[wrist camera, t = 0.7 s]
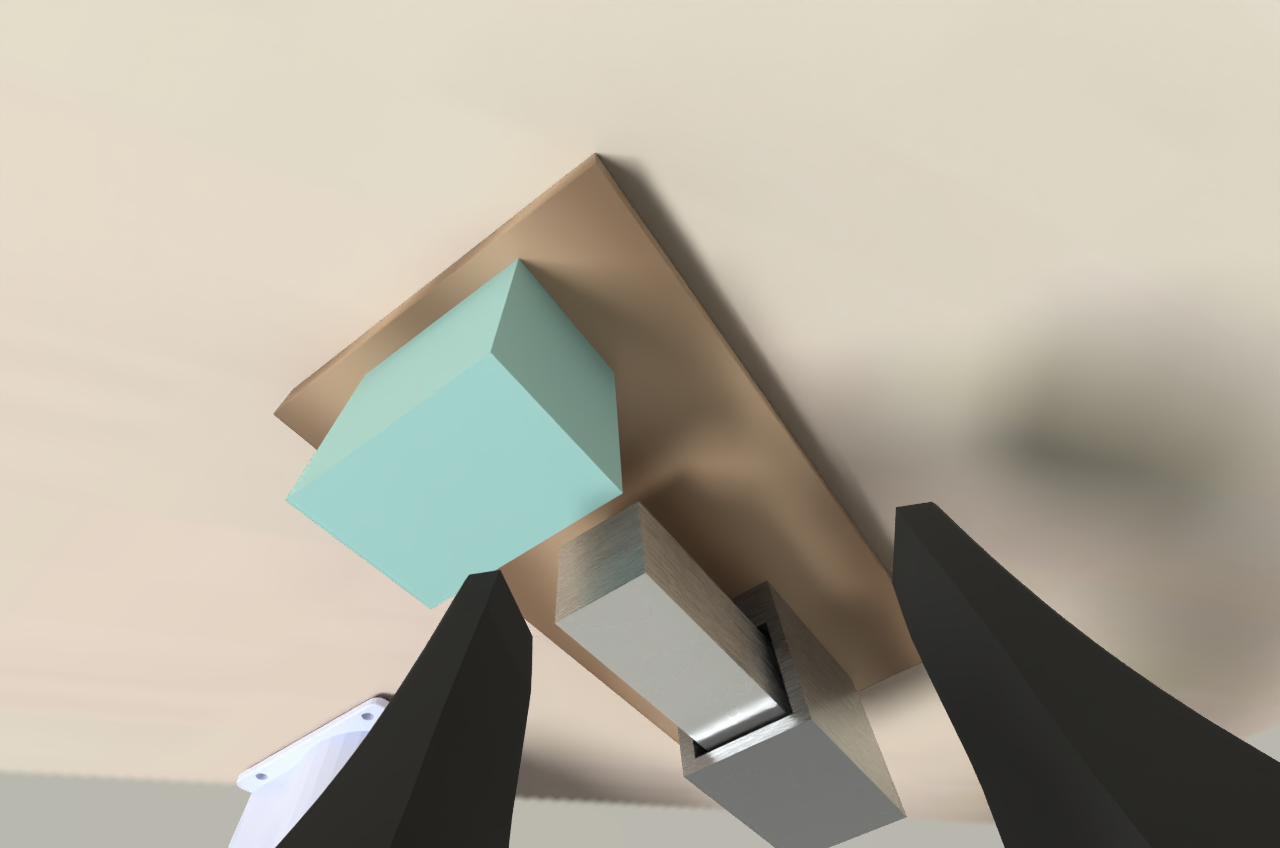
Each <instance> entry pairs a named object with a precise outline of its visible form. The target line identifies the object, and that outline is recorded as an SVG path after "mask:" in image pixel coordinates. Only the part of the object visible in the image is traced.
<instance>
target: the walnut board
mask: <svg viewBox="0 0 1280 848" xmlns="http://www.w3.org/2000/svg"><path fill="white" fill-rule="evenodd" d="M518 258H519V259H520V260H521V261H522V263H523V264H524V265H525V266H526V267H527V269H528V270H529V271H530V272H531V273H532V275H533V276H534V277H535V278H536V279H537V281H538V282H539V283H540V284H541V285H542V287H543V288H544V289H545V290H546V291H547V293H548V294H549V295H550V296H551V297H552V299H553V300H554V301H555V302H556V303H557V305H558V306H559V307H560V308H561V309H562V311H563V312H564V313H565V314H566V315H567V317H568V318H569V319H570V320H571V321H572V323H573V324H574V325H575V326H576V327H577V329H578V330H579V331H580V332H581V333H582V335H583V336H584V337H585V338H586V339H587V341H588V342H589V343H590V344H591V345H592V347H593V348H594V349H595V350H596V351H597V353H598V354H599V355H600V356H601V357H602V359H603V360H604V361H605V362H606V363H607V365H608V366H609V367H610V368H611V369H612V371H613V372H614V376H615V390H616V404H617V419H618V433H619V447H620V461H621V475H622V490H623V493H622V494H621V495H619V496H617V497H616V498H614V499H612V500H611V501H609V502H607V503H606V504H604V505H602V506H601V507H599V508H597V509H596V510H594V511H592V512H591V513H589V514H588V515H586V516H584V517H583V518H581V519H579V520H578V521H576V522H574V523H573V524H571V525H569V526H568V527H566V528H564V529H563V530H561V531H559V532H558V533H556V534H554V535H553V536H551V537H549V538H548V539H546V540H545V541H543V542H541V543H540V544H538V545H536V546H535V547H533V548H531V549H530V550H528V551H526V552H525V553H523V554H521V555H520V556H518V557H516V558H515V559H513V560H511V561H510V562H508V563H507V564H505V565H503V566H502V567H500V568H498V569H497V570H501V572H502V574H503V576H504V578H505V580H506V582H507V584H508V587H509V589H510V591H511V593H512V595H513V597H514V599H515V601H516V603H517V605H518V607H519V610H520V612H521V614H522V616H523V618H524V619H526V620H527V621H528V622H529V623H531V624H532V625H533V626H534V627H535V628H537V629H538V630H539V631H540V632H542V633H543V634H544V635H545V636H547V637H548V638H549V639H550V640H551V641H553V642H554V643H555V644H556V645H558V646H559V647H560V648H561V649H563V650H564V651H565V652H566V653H567V654H569V655H570V656H571V657H572V658H574V659H575V660H576V661H577V662H578V663H580V664H581V665H582V666H583V667H585V668H586V669H587V670H588V671H590V672H591V673H592V674H593V675H594V676H596V677H597V678H598V679H599V680H601V681H602V682H603V683H604V684H606V685H607V686H608V687H609V688H610V689H612V690H613V691H614V692H615V693H617V694H618V695H619V696H620V697H622V698H623V699H624V700H625V701H626V702H628V703H629V704H630V705H631V706H633V707H634V708H635V709H636V710H637V711H639V712H640V713H641V714H642V715H644V716H645V717H646V718H647V719H649V720H650V721H651V722H652V723H653V724H655V725H656V726H657V727H658V728H660V729H661V730H662V731H663V732H665V733H666V734H667V735H668V736H669V737H671V738H672V739H673V740H674V741H676V742H677V743H678V744H679V745H680V742H679V734H678V726H677V725H676V724H675V723H673V722H672V721H671V720H670V719H669V718H667V717H666V716H665V715H664V714H663V713H661V712H660V711H659V710H658V709H657V708H655V707H654V706H653V705H652V704H651V703H649V702H648V701H647V700H646V699H645V698H643V697H642V696H641V695H640V694H639V693H638V692H636V691H635V690H634V689H633V688H632V687H630V686H629V685H628V684H627V683H626V682H624V681H623V680H622V679H621V678H620V677H618V676H617V675H616V674H615V673H614V672H612V671H611V670H610V669H609V668H608V667H606V666H605V665H604V664H603V663H602V662H600V661H599V660H598V659H597V658H596V657H594V656H593V655H592V654H591V653H590V652H588V651H587V650H586V649H585V648H584V647H582V646H581V645H580V644H579V643H578V642H576V641H575V640H574V639H573V638H572V637H571V636H569V635H568V634H567V633H566V632H565V631H563V630H562V629H561V628H560V627H559V626H557V625H556V624H555V616H556V598H557V581H558V563H559V547H561V546H562V545H564V544H566V543H568V542H569V541H571V540H573V539H574V538H576V537H578V536H579V535H581V534H583V533H584V532H586V531H588V530H589V529H591V528H593V527H594V526H596V525H598V524H599V523H601V522H603V521H604V520H606V519H608V518H609V517H611V516H613V515H614V514H616V513H618V512H619V511H621V510H623V509H624V508H626V507H628V506H629V505H631V504H633V503H635V502H636V501H639V502H640V503H641V504H642V505H643V506H644V507H645V508H646V509H647V510H648V511H649V512H650V513H651V515H652V516H653V517H654V518H655V519H656V520H657V521H658V522H659V523H660V524H661V525H662V526H663V527H664V529H665V530H666V531H667V532H668V533H669V534H670V535H671V536H672V537H673V538H674V539H675V540H676V541H677V543H678V544H679V545H680V546H681V547H682V548H683V549H684V550H685V551H686V552H687V553H688V554H689V555H690V557H691V558H692V559H693V560H694V561H695V562H696V563H697V564H698V565H699V566H700V567H701V568H702V569H703V571H704V572H705V573H706V574H707V575H708V576H709V577H710V578H711V579H712V580H713V581H714V582H715V583H716V585H717V586H718V587H719V588H720V589H721V590H722V591H723V592H724V593H725V594H726V595H727V596H728V597H729V599H730V600H731V599H733V598H734V597H736V596H738V595H740V594H742V593H744V592H746V591H748V590H750V589H752V588H754V587H755V586H757V585H759V584H761V583H763V582H765V581H768V582H769V583H770V584H771V585H772V586H773V588H774V589H775V590H776V591H777V592H778V593H779V595H780V596H781V597H782V598H783V599H784V600H785V602H786V603H787V604H788V605H789V606H790V607H791V609H792V610H793V611H794V612H795V613H796V614H797V616H798V617H799V618H800V619H801V620H802V621H803V623H804V624H805V625H806V626H807V627H808V628H809V630H810V631H811V632H812V633H813V634H814V635H815V637H816V638H817V639H818V640H819V641H820V642H821V643H822V645H823V646H824V647H825V648H826V649H827V650H828V652H829V653H830V654H831V655H832V656H833V657H834V659H835V660H836V661H837V662H838V663H839V664H840V666H841V667H842V668H843V669H844V670H845V671H846V673H847V674H848V675H849V676H850V677H851V678H852V681H853V683H854V686H855V688H856V691H857V692H858V691H860V690H862V689H864V688H866V687H869V686H871V685H873V684H875V683H877V682H880V681H882V680H884V679H886V678H888V677H891V676H893V675H895V674H897V673H899V672H902V671H904V670H906V669H908V668H910V667H913V666H915V665H917V664H919V663H921V662H922V660H921V658H920V656H919V654H918V652H917V650H916V647H915V645H914V643H913V641H912V639H911V636H910V634H909V631H908V628H907V625H906V622H905V620H904V617H903V614H902V611H901V608H900V605H899V602H898V599H897V596H896V593H895V590H894V588H893V585H892V580H893V579H892V578H891V576H890V575H889V573H888V572H887V570H886V569H885V568H884V566H883V565H882V563H881V562H880V560H879V559H878V557H877V556H876V555H875V553H874V552H873V550H872V549H871V547H870V546H869V545H868V543H867V542H866V540H865V539H864V537H863V536H862V535H861V533H860V532H859V530H858V529H857V527H856V526H855V525H854V523H853V522H852V520H851V519H850V517H849V516H848V514H847V513H846V512H845V510H844V509H843V507H842V506H841V504H840V503H839V502H838V500H837V499H836V497H835V496H834V494H833V493H832V492H831V490H830V489H829V487H828V486H827V484H826V483H825V482H824V480H823V479H822V477H821V476H820V474H819V473H818V471H817V470H816V469H815V467H814V466H813V464H812V463H811V461H810V460H809V459H808V457H807V456H806V454H805V453H804V451H803V450H802V449H801V447H800V446H799V444H798V443H797V441H796V440H795V439H794V437H793V436H792V434H791V433H790V431H789V430H788V428H787V427H786V426H785V424H784V423H783V421H782V420H781V418H780V417H779V416H778V414H777V413H776V411H775V410H774V408H773V407H772V406H771V404H770V403H769V401H768V400H767V398H766V397H765V396H764V394H763V393H762V391H761V390H760V388H759V387H758V385H757V384H756V383H755V381H754V380H753V378H752V377H751V375H750V374H749V373H748V371H747V370H746V368H745V367H744V365H743V364H742V363H741V361H740V360H739V358H738V357H737V355H736V354H735V353H734V351H733V350H732V348H731V347H730V345H729V344H728V342H727V341H726V340H725V338H724V337H723V335H722V334H721V332H720V331H719V330H718V328H717V327H716V325H715V324H714V322H713V321H712V320H711V318H710V317H709V315H708V314H707V312H706V311H705V310H704V308H703V307H702V305H701V304H700V302H699V301H698V299H697V298H696V297H695V295H694V294H693V292H692V291H691V289H690V288H689V287H688V285H687V284H686V282H685V281H684V279H683V278H682V277H681V275H680V274H679V272H678V271H677V269H676V268H675V267H674V265H673V264H672V262H671V261H670V259H669V258H668V256H667V255H666V254H665V252H664V251H663V249H662V248H661V246H660V245H659V244H658V242H657V241H656V239H655V238H654V236H653V235H652V234H651V232H650V231H649V229H648V228H647V226H646V225H645V224H644V222H643V221H642V219H641V218H640V216H639V215H638V214H637V212H636V211H635V209H634V208H633V206H632V205H631V203H630V202H629V201H628V199H627V198H626V196H625V195H624V193H623V192H622V191H621V189H620V188H619V186H618V185H617V183H616V182H615V181H614V179H613V178H612V176H611V175H610V173H609V172H608V171H607V169H606V168H605V166H604V165H603V163H602V162H601V160H600V159H599V158H598V156H597V155H596V153H594V154H593V155H592V156H590V157H589V158H588V159H587V160H585V161H584V162H583V163H582V164H580V165H579V166H578V167H576V168H575V169H574V170H573V171H571V172H570V173H569V174H567V175H566V176H565V177H564V178H562V179H561V180H560V181H559V182H557V183H556V184H555V185H553V186H552V187H551V188H550V189H548V190H547V191H546V192H545V193H543V194H542V195H541V196H539V197H538V198H537V199H536V200H534V201H533V202H532V203H530V204H529V205H528V206H527V207H525V208H524V209H523V210H522V211H520V212H519V213H518V214H516V215H515V216H514V217H513V218H511V219H510V220H509V221H507V222H506V223H505V224H504V225H502V226H501V227H500V228H499V229H497V230H496V231H495V232H493V233H492V234H491V235H490V236H488V237H487V238H486V239H485V240H483V241H482V242H481V243H479V244H478V245H477V246H476V247H474V248H473V249H472V250H470V251H469V252H468V253H467V254H465V255H464V256H463V257H462V258H460V259H459V260H458V261H456V262H455V263H454V264H453V265H451V266H450V267H449V268H448V269H446V270H445V271H444V272H442V273H441V274H440V275H439V276H437V277H436V278H435V279H433V280H432V281H431V282H430V283H428V284H427V285H426V286H425V287H423V288H422V289H421V290H419V291H418V292H417V293H416V294H414V295H413V296H412V297H411V298H409V299H408V300H407V301H405V302H404V303H403V304H402V305H400V306H399V307H398V308H396V309H395V310H394V311H393V312H391V313H390V314H389V315H388V316H386V317H385V318H384V319H382V320H381V321H380V322H379V323H377V324H376V325H375V326H374V327H372V328H371V329H370V330H368V331H367V332H366V333H365V334H363V335H362V336H361V337H359V338H358V339H357V340H356V341H354V342H353V343H352V344H351V345H349V346H348V347H347V348H345V349H344V350H343V351H342V352H340V353H339V354H338V355H337V356H335V357H334V358H333V359H331V360H330V361H329V362H328V363H326V364H325V365H324V366H322V367H321V368H320V369H319V370H317V371H316V372H315V373H314V374H312V375H311V376H310V377H308V378H307V379H306V380H305V381H303V382H302V383H301V384H300V385H298V386H297V387H296V388H294V389H293V390H292V391H291V393H290V394H289V395H288V396H287V398H286V399H285V400H284V401H283V403H282V404H281V405H280V406H279V407H278V409H277V410H276V411H275V412H274V415H275V416H276V417H277V418H279V419H280V420H281V421H282V422H283V423H285V424H286V425H287V426H288V427H290V428H291V429H292V430H293V431H295V432H296V433H297V434H298V435H299V436H301V437H302V438H303V439H304V440H306V441H307V442H308V443H309V444H310V445H312V446H313V447H314V448H315V449H318V448H319V446H320V445H321V443H322V442H323V440H324V438H325V437H326V435H327V434H328V432H329V431H330V429H331V427H332V426H333V424H334V423H335V421H336V420H337V418H338V416H339V415H340V413H341V412H342V410H343V409H344V407H345V405H346V404H347V402H348V401H349V399H350V398H351V396H352V394H353V393H354V391H355V390H356V388H357V387H358V385H359V383H360V382H361V380H362V379H363V377H364V376H365V374H367V373H368V372H369V371H371V370H372V369H373V368H375V367H376V366H377V365H379V364H380V363H381V362H383V361H384V360H385V359H386V358H388V357H389V356H390V355H392V354H393V353H394V352H396V351H397V350H398V349H400V348H401V347H402V346H404V345H405V344H406V343H408V342H409V341H410V340H411V339H413V338H414V337H415V336H417V335H418V334H419V333H421V332H422V331H423V330H425V329H426V328H427V327H429V326H430V325H431V324H433V323H434V322H435V321H436V320H438V319H439V318H440V317H442V316H443V315H444V314H446V313H447V312H448V311H450V310H451V309H452V308H454V307H455V306H456V305H458V304H459V303H460V302H461V301H463V300H464V299H465V298H467V297H468V296H469V295H471V294H472V293H473V292H475V291H476V290H477V289H479V288H480V287H481V286H483V285H484V284H485V283H486V282H488V281H489V280H490V279H492V278H493V277H494V276H496V275H497V274H498V273H500V272H501V271H502V270H504V269H505V268H506V267H508V266H509V265H510V264H511V263H513V262H514V261H515V260H517V259H518Z"/></svg>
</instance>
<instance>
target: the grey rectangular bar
mask: <svg viewBox="0 0 1280 848" xmlns="http://www.w3.org/2000/svg"><path fill="white" fill-rule="evenodd" d="M555 624H556V625H557V626H559V627H560V628H561V629H562V630H563V631H565V632H566V633H567V634H568V635H569V636H571V637H572V638H573V639H574V640H575V641H576V642H578V643H579V644H580V645H581V646H582V647H584V648H585V649H586V650H587V651H588V652H590V653H591V654H592V655H593V656H594V657H596V658H597V659H598V660H599V661H600V662H602V663H603V664H604V665H605V666H606V667H608V668H609V669H610V670H611V671H612V672H614V673H615V674H616V675H617V676H618V677H620V678H621V679H622V680H623V681H624V682H626V683H627V684H628V685H629V686H630V687H632V688H633V689H634V690H635V691H636V692H638V693H639V694H640V695H641V696H642V697H643V698H645V699H646V700H647V701H648V702H649V703H651V704H652V705H653V706H654V707H655V708H657V709H658V710H659V711H660V712H661V713H663V714H664V715H665V716H666V717H667V718H669V719H670V720H671V721H672V722H673V723H675V724H676V725H677V726H678V727H679V728H681V729H682V730H683V731H684V732H685V733H687V734H688V735H689V736H690V737H691V738H693V739H694V740H695V741H696V742H697V743H699V744H700V745H701V746H702V747H703V748H704V749H706V750H707V751H708V752H711V751H713V750H715V749H717V748H719V747H722V746H724V745H726V744H728V743H730V742H733V741H735V740H737V739H739V738H741V737H744V736H746V735H748V734H750V733H752V732H754V731H757V730H759V729H761V728H763V727H765V726H768V725H770V724H772V723H774V722H776V721H778V720H781V719H783V718H785V717H787V716H789V715H792V714H793V711H792V708H791V704H790V701H789V698H788V694H787V691H786V687H785V684H784V681H783V677H782V674H781V670H780V667H779V664H778V660H777V657H776V653H775V650H774V647H773V645H772V644H771V643H770V642H769V641H768V639H767V638H766V637H765V636H764V635H763V634H762V633H761V632H760V631H759V630H758V629H757V628H756V627H755V625H754V624H753V623H752V622H751V621H750V620H749V619H748V618H747V617H746V616H745V615H744V614H743V613H742V611H741V610H740V609H739V608H738V607H737V606H736V605H735V604H734V603H733V602H732V601H731V600H730V599H729V597H728V596H727V595H726V594H725V593H724V592H723V591H722V590H721V589H720V588H719V587H718V586H717V585H716V583H715V582H714V581H713V580H712V579H711V578H710V577H709V576H708V575H707V574H706V573H705V572H704V571H703V569H702V568H701V567H700V566H699V565H698V564H697V563H696V562H695V561H694V560H693V559H692V558H691V557H690V555H689V554H688V553H687V552H686V551H685V550H684V549H683V548H682V547H681V546H680V545H679V544H678V543H677V541H676V540H675V539H674V538H673V537H672V536H671V535H670V534H669V533H668V532H667V531H666V530H665V529H664V527H663V526H662V525H661V524H660V523H659V522H658V521H657V520H656V519H655V518H654V517H653V516H652V515H651V513H650V512H649V511H648V510H647V509H646V508H645V507H644V506H643V505H642V504H641V503H640V502H639V501H636V502H635V503H633V504H631V505H629V506H628V507H626V508H624V509H623V510H621V511H619V512H618V513H616V514H614V515H613V516H611V517H609V518H608V519H606V520H604V521H603V522H601V523H599V524H598V525H596V526H594V527H593V528H591V529H589V530H588V531H586V532H584V533H583V534H581V535H579V536H578V537H576V538H574V539H573V540H571V541H569V542H568V543H566V544H564V545H562V546H561V547H559V563H558V581H557V598H556V616H555Z"/></svg>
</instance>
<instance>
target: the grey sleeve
mask: <svg viewBox="0 0 1280 848" xmlns="http://www.w3.org/2000/svg"><path fill="white" fill-rule="evenodd" d="M731 601H732V602H733V603H734V604H735V605H736V606H737V607H738V608H739V609H740V610H741V611H742V613H743V614H744V615H745V616H746V617H747V618H748V619H749V620H750V621H751V622H752V623H753V624H754V625H755V627H756V628H757V629H758V630H759V631H760V632H761V633H762V634H763V635H764V636H765V637H766V638H767V639H768V641H769V642H770V643H771V644H772V645H773V647H774V650H775V653H776V657H777V660H778V664H779V667H780V670H781V674H782V677H783V681H784V684H785V687H786V691H787V694H788V698H789V701H790V704H791V708H792V711H793V714H792V715H789V716H787V717H785V718H783V719H781V720H778V721H776V722H774V723H772V724H770V725H768V726H765V727H763V728H761V729H759V730H757V731H754V732H752V733H750V734H748V735H746V736H744V737H741V738H739V739H737V740H735V741H733V742H730V743H728V744H726V745H724V746H722V747H719V748H717V749H715V750H713V751H711V752H708V751H707V750H706V749H704V748H703V747H702V746H701V745H700V744H699V743H697V742H696V741H695V740H694V739H693V738H691V737H690V736H689V735H688V734H687V733H685V732H684V731H683V730H682V729H681V728H679V727H678V734H679V742H680V750H681V758H682V766H683V774H684V777H685V778H686V779H687V780H689V781H690V782H691V783H693V784H694V785H695V786H696V787H698V788H699V789H700V790H702V791H703V792H704V793H705V794H707V795H708V796H709V797H711V798H712V799H713V800H714V801H716V802H717V803H718V804H720V805H721V806H722V807H723V808H725V809H726V810H727V811H729V812H730V813H731V814H733V815H734V816H735V817H736V818H738V819H739V820H741V821H742V822H743V823H744V824H745V825H747V826H748V827H749V828H751V829H752V830H753V831H754V832H756V833H757V834H758V835H760V836H761V837H762V838H763V839H765V840H766V841H767V842H769V843H770V844H771V845H772V846H774V847H775V848H829V847H831V846H834V845H836V844H839V843H841V842H844V841H847V840H849V839H852V838H854V837H857V836H859V835H862V834H864V833H867V832H870V831H872V830H875V829H877V828H880V827H882V826H885V825H888V824H890V823H893V822H895V821H898V820H900V819H903V818H905V817H907V816H906V814H905V811H904V809H903V806H902V804H901V801H900V799H899V796H898V794H897V791H896V789H895V786H894V784H893V781H892V779H891V776H890V774H889V771H888V768H887V766H886V763H885V761H884V758H883V756H882V753H881V751H880V748H879V746H878V743H877V741H876V738H875V736H874V733H873V731H872V728H871V726H870V723H869V721H868V718H867V716H866V713H865V711H864V708H863V706H862V703H861V701H860V698H859V696H858V693H857V691H856V688H855V686H854V683H853V681H852V678H851V677H850V676H849V675H848V674H847V673H846V671H845V670H844V669H843V668H842V667H841V666H840V664H839V663H838V662H837V661H836V660H835V659H834V657H833V656H832V655H831V654H830V653H829V652H828V650H827V649H826V648H825V647H824V646H823V645H822V643H821V642H820V641H819V640H818V639H817V638H816V637H815V635H814V634H813V633H812V632H811V631H810V630H809V628H808V627H807V626H806V625H805V624H804V623H803V621H802V620H801V619H800V618H799V617H798V616H797V614H796V613H795V612H794V611H793V610H792V609H791V607H790V606H789V605H788V604H787V603H786V602H785V600H784V599H783V598H782V597H781V596H780V595H779V593H778V592H777V591H776V590H775V589H774V588H773V586H772V585H771V584H770V583H769V582H768V581H765V582H763V583H761V584H759V585H757V586H755V587H754V588H752V589H750V590H748V591H746V592H744V593H742V594H740V595H738V596H736V597H734V598H733V599H731Z"/></svg>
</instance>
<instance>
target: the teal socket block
mask: <svg viewBox="0 0 1280 848" xmlns="http://www.w3.org/2000/svg"><path fill="white" fill-rule="evenodd" d="M622 493H623V490H622V475H621V461H620V447H619V433H618V419H617V404H616V390H615V376H614V372H613V371H612V369H611V368H610V367H609V366H608V365H607V363H606V362H605V361H604V360H603V359H602V357H601V356H600V355H599V354H598V353H597V351H596V350H595V349H594V348H593V347H592V345H591V344H590V343H589V342H588V341H587V339H586V338H585V337H584V336H583V335H582V333H581V332H580V331H579V330H578V329H577V327H576V326H575V325H574V324H573V323H572V321H571V320H570V319H569V318H568V317H567V315H566V314H565V313H564V312H563V311H562V309H561V308H560V307H559V306H558V305H557V303H556V302H555V301H554V300H553V299H552V297H551V296H550V295H549V294H548V293H547V291H546V290H545V289H544V288H543V287H542V285H541V284H540V283H539V282H538V281H537V279H536V278H535V277H534V276H533V275H532V273H531V272H530V271H529V270H528V269H527V267H526V266H525V265H524V264H523V263H522V261H521V260H520V259H519V258H518V259H517V260H515V261H514V262H513V263H511V264H510V265H509V266H508V267H506V268H505V269H504V270H502V271H501V272H500V273H498V274H497V275H496V276H494V277H493V278H492V279H490V280H489V281H488V282H486V283H485V284H484V285H483V286H481V287H480V288H479V289H477V290H476V291H475V292H473V293H472V294H471V295H469V296H468V297H467V298H465V299H464V300H463V301H461V302H460V303H459V304H458V305H456V306H455V307H454V308H452V309H451V310H450V311H448V312H447V313H446V314H444V315H443V316H442V317H440V318H439V319H438V320H436V321H435V322H434V323H433V324H431V325H430V326H429V327H427V328H426V329H425V330H423V331H422V332H421V333H419V334H418V335H417V336H415V337H414V338H413V339H411V340H410V341H409V342H408V343H406V344H405V345H404V346H402V347H401V348H400V349H398V350H397V351H396V352H394V353H393V354H392V355H390V356H389V357H388V358H386V359H385V360H384V361H383V362H381V363H380V364H379V365H377V366H376V367H375V368H373V369H372V370H371V371H369V372H368V373H367V374H365V376H364V377H363V379H362V380H361V382H360V383H359V385H358V387H357V388H356V390H355V391H354V393H353V394H352V396H351V398H350V399H349V401H348V402H347V404H346V405H345V407H344V409H343V410H342V412H341V413H340V415H339V416H338V418H337V420H336V421H335V423H334V424H333V426H332V427H331V429H330V431H329V432H328V434H327V435H326V437H325V438H324V440H323V442H322V443H321V445H320V446H319V448H318V449H317V451H316V453H315V454H314V456H313V457H312V459H311V460H310V462H309V464H308V465H307V467H306V468H305V470H304V471H303V473H302V475H301V476H300V478H299V479H298V481H297V482H296V484H295V486H294V487H293V489H292V490H291V492H290V493H289V495H288V497H287V498H286V500H285V501H287V502H288V503H289V504H291V505H292V506H293V507H295V508H296V509H297V510H299V511H300V512H301V513H303V514H304V515H305V516H307V517H308V518H309V519H311V520H312V521H313V522H315V523H316V524H317V525H319V526H320V527H321V528H323V529H324V530H325V531H327V532H328V533H329V534H331V535H332V536H333V537H335V538H336V539H337V540H339V541H340V542H341V543H343V544H344V545H346V546H347V547H348V548H350V549H351V550H352V551H354V552H355V553H356V554H358V555H359V556H360V557H362V558H363V559H364V560H366V561H367V562H368V563H370V564H371V565H372V566H374V567H375V568H376V569H378V570H379V571H380V572H382V573H383V574H384V575H386V576H387V577H388V578H390V579H391V580H392V581H394V582H395V583H396V584H398V585H399V586H400V587H402V588H403V589H404V590H406V591H407V592H408V593H410V594H411V595H412V596H414V597H415V598H416V599H418V600H419V601H420V602H422V603H423V604H424V605H426V606H427V607H428V608H430V609H432V608H434V607H435V606H437V605H439V604H440V603H442V602H444V601H445V600H447V599H449V598H450V597H452V596H454V595H455V594H457V593H458V591H459V589H460V588H461V586H462V584H463V583H464V581H465V579H466V578H467V577H468V575H470V574H476V573H482V572H489V571H495V570H497V569H498V568H500V567H502V566H503V565H505V564H507V563H508V562H510V561H511V560H513V559H515V558H516V557H518V556H520V555H521V554H523V553H525V552H526V551H528V550H530V549H531V548H533V547H535V546H536V545H538V544H540V543H541V542H543V541H545V540H546V539H548V538H549V537H551V536H553V535H554V534H556V533H558V532H559V531H561V530H563V529H564V528H566V527H568V526H569V525H571V524H573V523H574V522H576V521H578V520H579V519H581V518H583V517H584V516H586V515H588V514H589V513H591V512H592V511H594V510H596V509H597V508H599V507H601V506H602V505H604V504H606V503H607V502H609V501H611V500H612V499H614V498H616V497H617V496H619V495H621V494H622Z"/></svg>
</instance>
